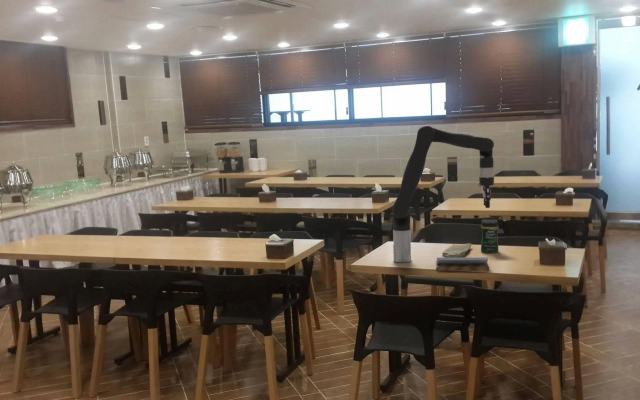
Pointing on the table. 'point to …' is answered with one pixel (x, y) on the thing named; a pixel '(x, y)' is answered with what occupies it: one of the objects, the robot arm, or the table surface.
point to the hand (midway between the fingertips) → (486, 206)
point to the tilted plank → (463, 260)
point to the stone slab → (456, 251)
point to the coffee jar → (489, 236)
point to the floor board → (462, 267)
